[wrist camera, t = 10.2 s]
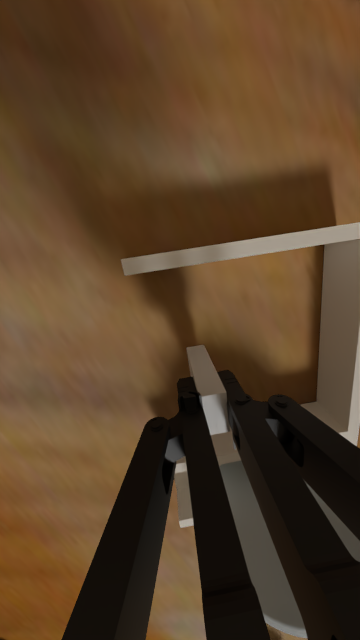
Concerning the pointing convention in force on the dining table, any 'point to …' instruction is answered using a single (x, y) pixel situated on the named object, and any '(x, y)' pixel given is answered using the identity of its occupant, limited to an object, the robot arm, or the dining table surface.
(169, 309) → the dining table surface
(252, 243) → the dish rack
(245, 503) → the grey plate
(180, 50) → the dining table surface
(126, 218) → the dining table surface
